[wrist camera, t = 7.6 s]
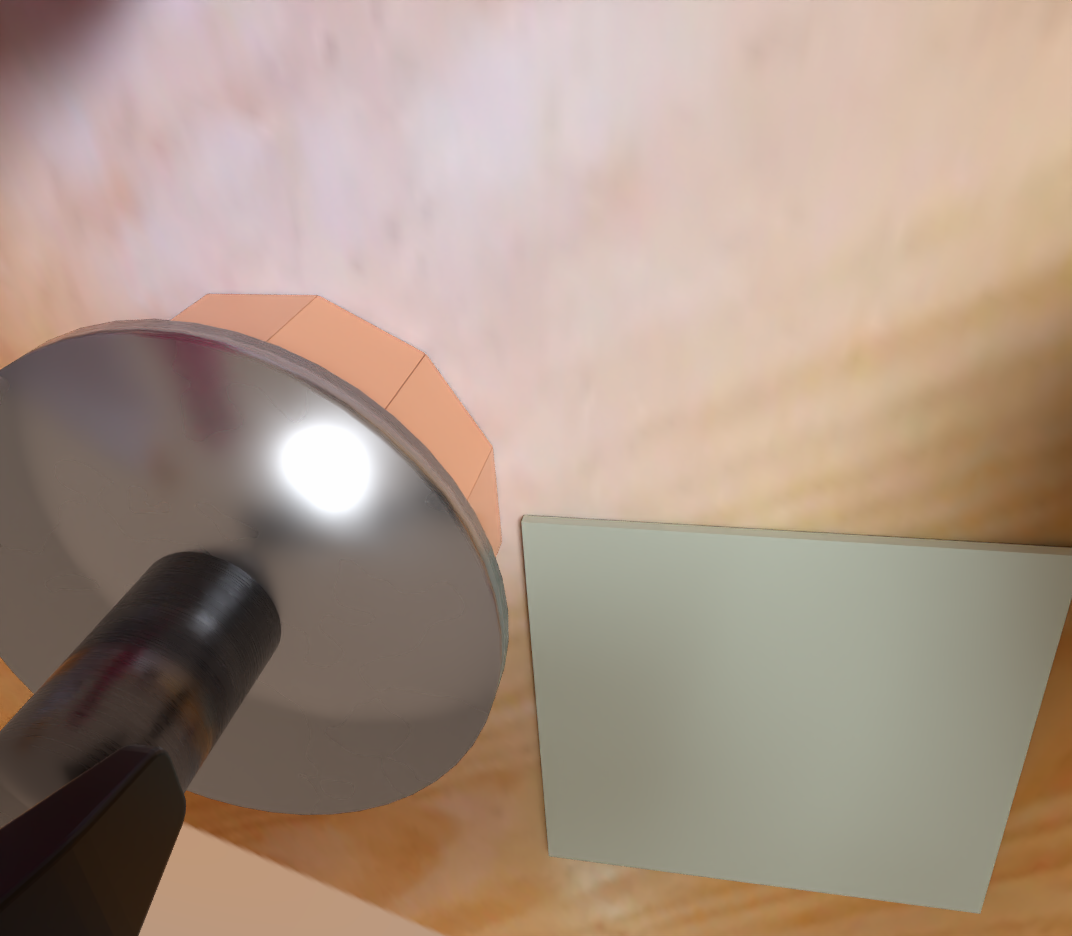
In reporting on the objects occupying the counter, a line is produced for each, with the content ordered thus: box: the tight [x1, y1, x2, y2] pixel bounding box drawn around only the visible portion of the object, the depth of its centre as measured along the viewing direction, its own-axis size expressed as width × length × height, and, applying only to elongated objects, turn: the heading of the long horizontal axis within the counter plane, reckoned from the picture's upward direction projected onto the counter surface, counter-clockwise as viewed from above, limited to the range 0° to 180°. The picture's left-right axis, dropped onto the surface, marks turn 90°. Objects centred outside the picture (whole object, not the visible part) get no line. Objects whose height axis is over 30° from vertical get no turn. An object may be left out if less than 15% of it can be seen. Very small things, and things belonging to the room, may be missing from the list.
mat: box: [521, 515, 1072, 914], centre depth 24 cm, size 12×12×1 cm
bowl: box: [170, 294, 502, 558], centre depth 21 cm, size 10×10×4 cm
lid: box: [0, 319, 508, 828], centre depth 17 cm, size 12×12×6 cm
